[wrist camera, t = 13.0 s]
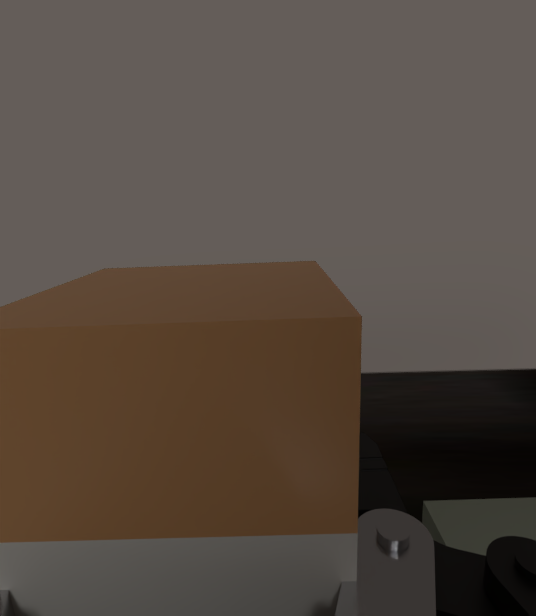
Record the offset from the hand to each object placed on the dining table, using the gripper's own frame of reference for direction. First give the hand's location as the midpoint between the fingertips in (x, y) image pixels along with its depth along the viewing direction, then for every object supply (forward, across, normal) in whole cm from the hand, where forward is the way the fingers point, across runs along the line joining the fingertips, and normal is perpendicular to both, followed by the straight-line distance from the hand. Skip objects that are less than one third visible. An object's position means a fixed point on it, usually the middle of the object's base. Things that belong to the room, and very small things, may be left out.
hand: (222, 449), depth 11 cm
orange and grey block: (-3, 0, +7) cm, 7 cm away
